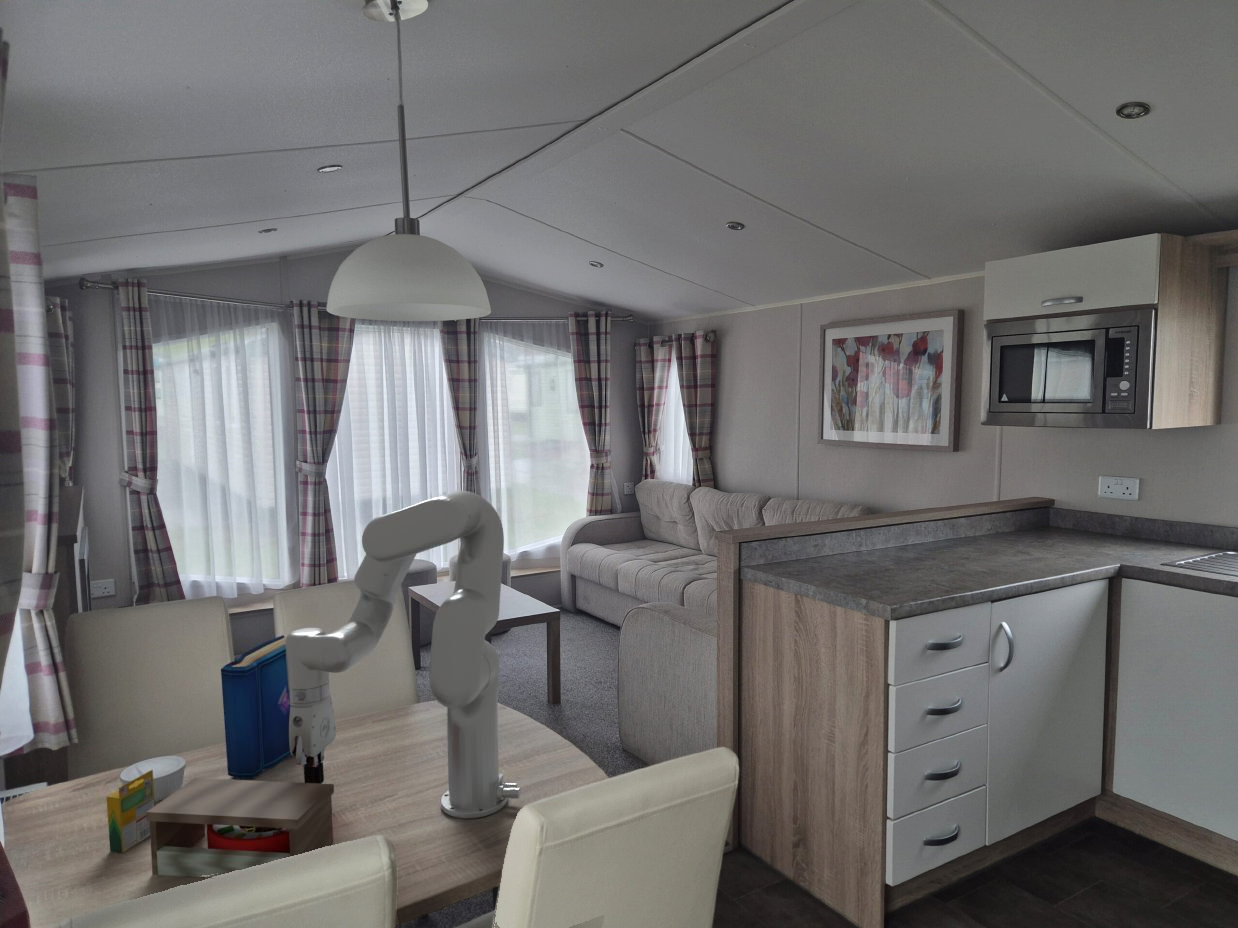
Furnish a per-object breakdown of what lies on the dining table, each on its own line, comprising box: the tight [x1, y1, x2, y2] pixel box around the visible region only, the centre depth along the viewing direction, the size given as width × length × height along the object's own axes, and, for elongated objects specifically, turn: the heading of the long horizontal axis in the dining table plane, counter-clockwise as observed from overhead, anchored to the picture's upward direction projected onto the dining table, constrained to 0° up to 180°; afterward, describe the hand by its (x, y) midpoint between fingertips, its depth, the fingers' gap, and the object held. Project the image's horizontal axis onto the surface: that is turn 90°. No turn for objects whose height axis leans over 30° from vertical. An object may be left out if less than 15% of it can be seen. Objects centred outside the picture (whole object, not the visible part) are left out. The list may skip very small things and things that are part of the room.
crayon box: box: [106, 770, 156, 854], centre depth 137 cm, size 7×3×12 cm, turn 166°
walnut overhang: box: [146, 777, 335, 879], centre depth 131 cm, size 26×12×10 cm, turn 83°
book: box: [220, 634, 292, 780], centre depth 169 cm, size 22×7×25 cm, turn 168°
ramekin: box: [119, 755, 187, 803], centre depth 155 cm, size 11×11×5 cm
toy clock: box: [206, 824, 334, 853], centre depth 137 cm, size 20×6×20 cm
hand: (314, 783), depth 154 cm, fingers closed
